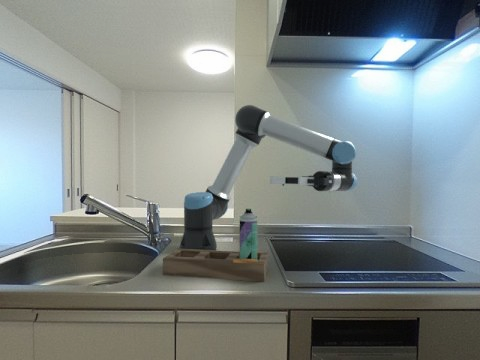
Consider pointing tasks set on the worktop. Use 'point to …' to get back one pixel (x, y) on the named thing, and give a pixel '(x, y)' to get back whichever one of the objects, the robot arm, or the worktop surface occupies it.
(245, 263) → the rack
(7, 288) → the worktop surface
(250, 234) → the spray can
